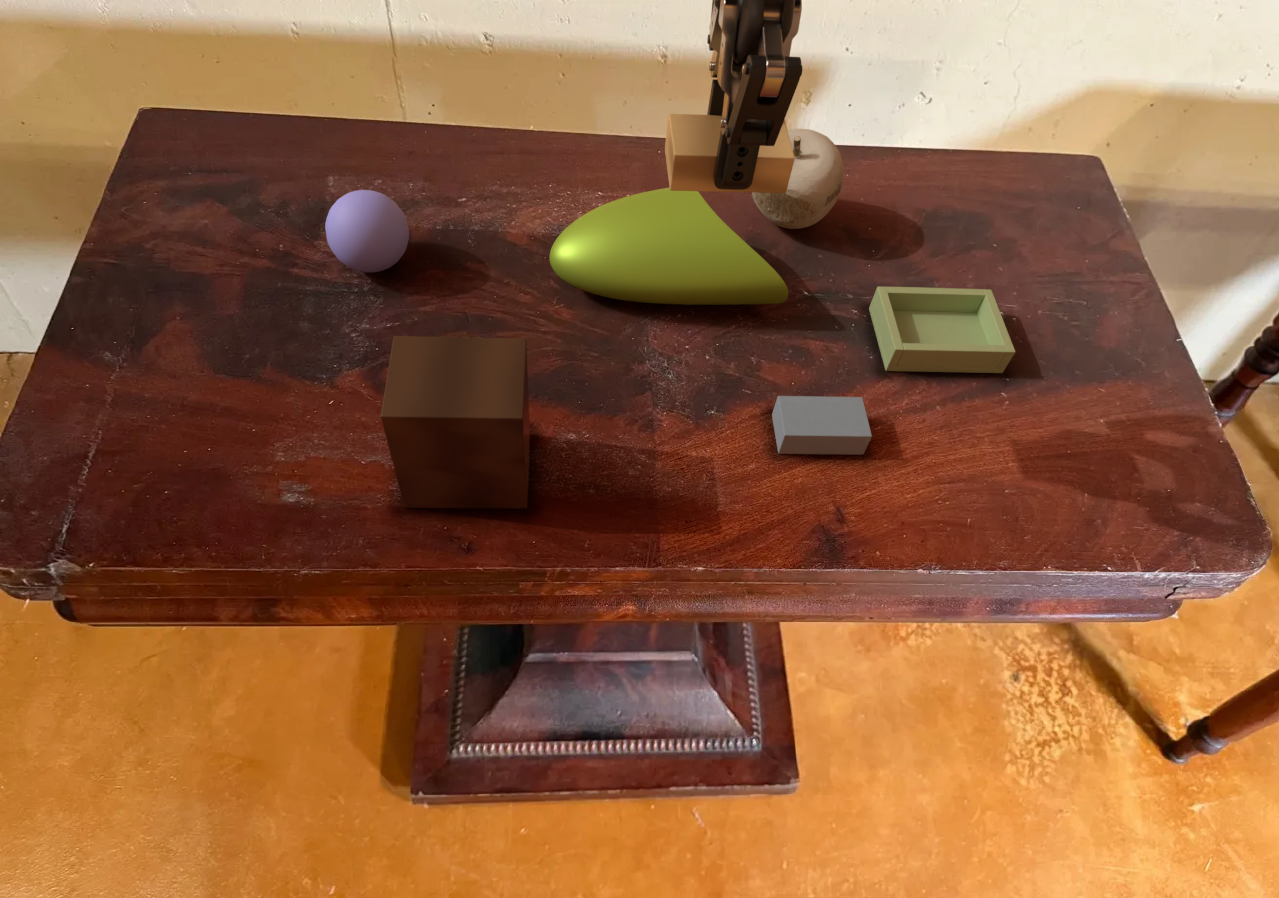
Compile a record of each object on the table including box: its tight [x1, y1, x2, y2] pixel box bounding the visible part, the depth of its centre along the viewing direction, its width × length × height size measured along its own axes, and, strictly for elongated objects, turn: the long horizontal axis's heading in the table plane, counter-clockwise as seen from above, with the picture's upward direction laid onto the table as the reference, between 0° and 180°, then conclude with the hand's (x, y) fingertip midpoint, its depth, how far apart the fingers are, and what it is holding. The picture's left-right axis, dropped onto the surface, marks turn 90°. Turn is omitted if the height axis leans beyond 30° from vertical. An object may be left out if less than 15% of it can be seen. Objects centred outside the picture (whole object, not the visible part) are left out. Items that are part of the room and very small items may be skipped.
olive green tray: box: [868, 285, 1016, 374], centre depth 78 cm, size 11×8×3 cm
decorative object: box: [751, 128, 845, 230], centre depth 84 cm, size 9×9×10 cm
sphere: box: [324, 189, 410, 273], centre depth 77 cm, size 7×7×7 cm
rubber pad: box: [771, 395, 873, 456], centre depth 71 cm, size 7×4×2 cm, turn 92°
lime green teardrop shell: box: [549, 187, 789, 306], centre depth 78 cm, size 8×12×20 cm
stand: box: [380, 335, 531, 510], centre depth 63 cm, size 9×7×11 cm
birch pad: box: [664, 113, 795, 193], centre depth 53 cm, size 7×4×2 cm, turn 93°
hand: (726, 159), depth 53 cm, fingers closed on birch pad, 4 cm apart
